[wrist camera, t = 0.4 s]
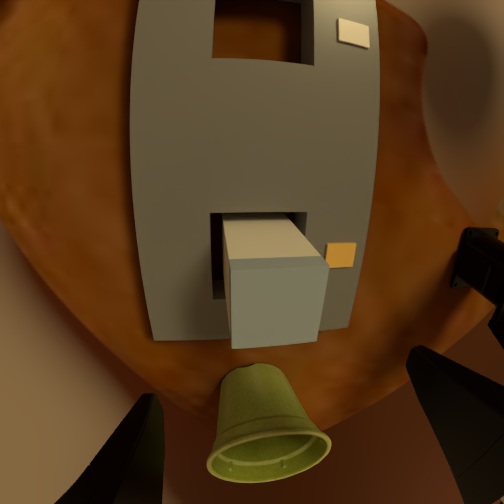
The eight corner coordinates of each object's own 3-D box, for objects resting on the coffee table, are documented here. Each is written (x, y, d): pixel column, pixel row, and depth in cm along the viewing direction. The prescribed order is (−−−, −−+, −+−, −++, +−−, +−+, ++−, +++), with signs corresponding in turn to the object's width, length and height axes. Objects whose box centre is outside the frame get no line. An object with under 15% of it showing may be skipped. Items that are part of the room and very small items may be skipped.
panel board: (355, -16, 12) (372, -29, 10) (335, 309, 23) (348, 328, 20) (155, -33, 10) (149, -52, 8) (158, 319, 21) (153, 342, 18)
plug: (283, 212, 19) (329, 265, 11) (279, 267, 20) (316, 341, 13) (221, 213, 18) (230, 269, 11) (222, 269, 20) (232, 348, 12)
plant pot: (232, 333, 22) (247, 424, 14) (321, 362, 25) (355, 436, 17) (187, 398, 25) (187, 476, 17) (268, 417, 28) (284, 484, 20)
